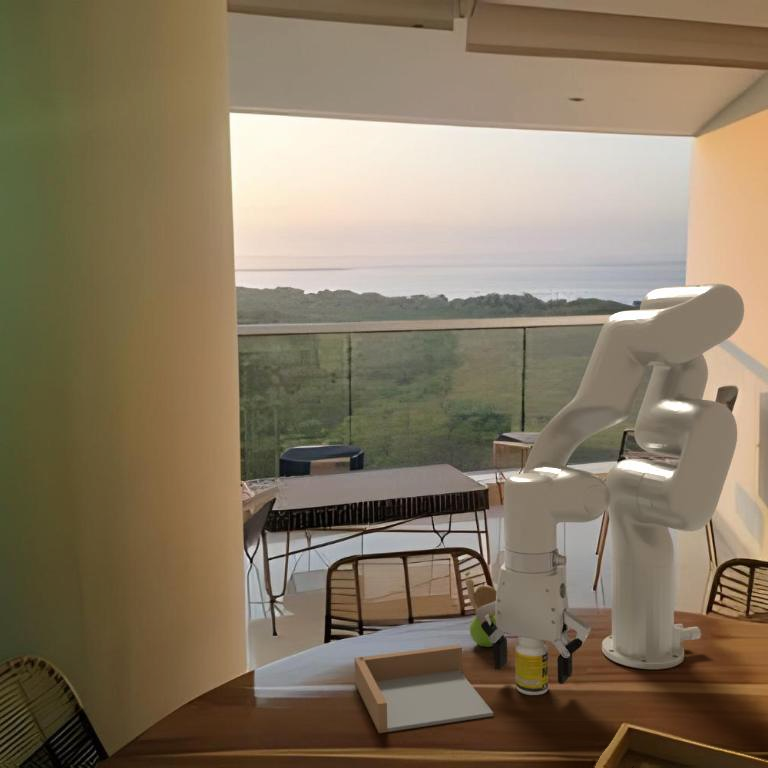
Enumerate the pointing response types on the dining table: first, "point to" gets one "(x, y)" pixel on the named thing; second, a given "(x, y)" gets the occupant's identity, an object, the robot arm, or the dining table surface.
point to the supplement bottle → (531, 666)
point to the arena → (417, 689)
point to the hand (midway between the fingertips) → (531, 673)
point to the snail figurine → (478, 599)
